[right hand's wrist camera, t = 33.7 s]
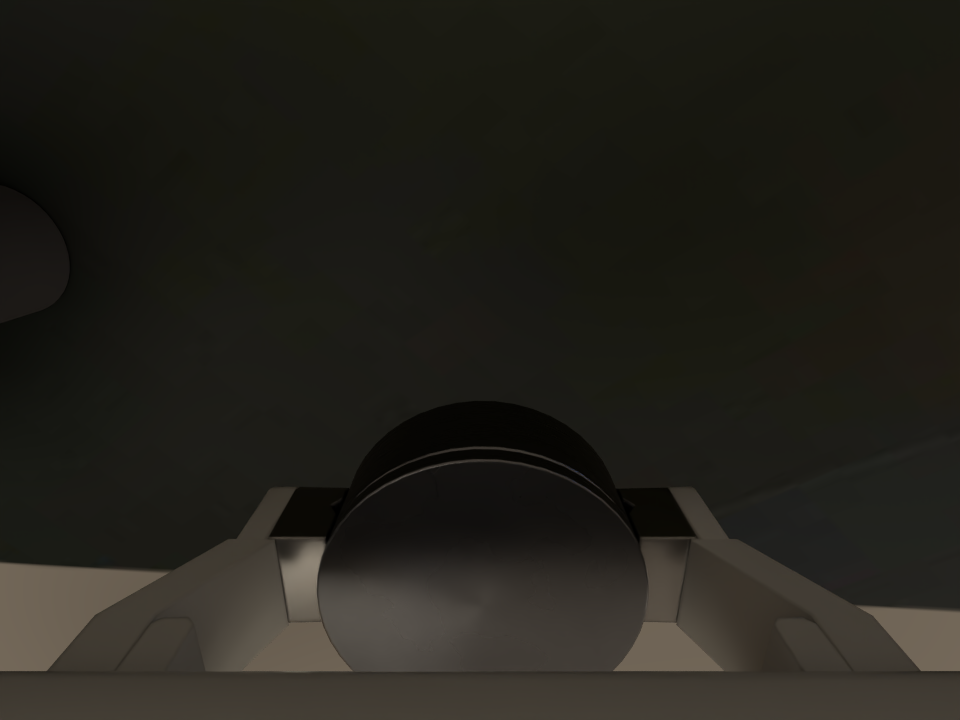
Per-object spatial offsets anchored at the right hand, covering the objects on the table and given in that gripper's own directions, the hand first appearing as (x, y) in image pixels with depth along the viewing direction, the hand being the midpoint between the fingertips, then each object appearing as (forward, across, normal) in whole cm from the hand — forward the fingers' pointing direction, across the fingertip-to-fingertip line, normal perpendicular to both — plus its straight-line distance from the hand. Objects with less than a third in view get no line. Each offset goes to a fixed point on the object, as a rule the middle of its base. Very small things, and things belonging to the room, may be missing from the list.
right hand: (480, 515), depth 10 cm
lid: (-2, 0, 0) cm, 2 cm away
